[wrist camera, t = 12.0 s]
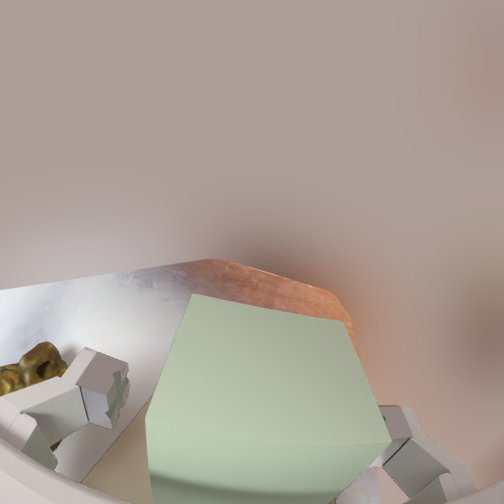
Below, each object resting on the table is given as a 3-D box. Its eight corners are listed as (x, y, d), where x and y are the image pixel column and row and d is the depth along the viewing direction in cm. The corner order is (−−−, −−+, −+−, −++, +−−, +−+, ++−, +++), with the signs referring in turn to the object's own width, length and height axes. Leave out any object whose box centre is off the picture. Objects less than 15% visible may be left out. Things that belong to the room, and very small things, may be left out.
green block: (158, 531, 8) (145, 418, 4) (174, 452, 12) (192, 293, 9) (269, 544, 8) (392, 441, 5) (267, 466, 13) (342, 321, 9)
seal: (1, 522, 6) (105, 402, 20) (-27, 505, 4) (105, 367, 18) (-73, 428, 7) (31, 344, 21) (-100, 392, 5) (25, 305, 19)
